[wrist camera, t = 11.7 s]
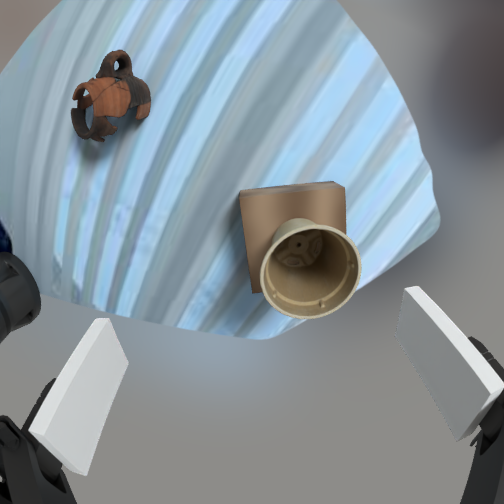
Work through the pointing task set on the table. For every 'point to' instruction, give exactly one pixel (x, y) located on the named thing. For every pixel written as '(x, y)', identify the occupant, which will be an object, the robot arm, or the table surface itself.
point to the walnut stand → (286, 216)
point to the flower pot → (309, 269)
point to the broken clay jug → (109, 97)
